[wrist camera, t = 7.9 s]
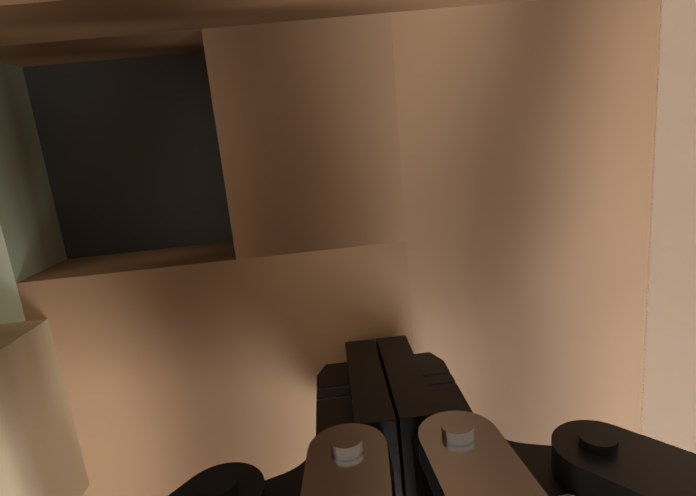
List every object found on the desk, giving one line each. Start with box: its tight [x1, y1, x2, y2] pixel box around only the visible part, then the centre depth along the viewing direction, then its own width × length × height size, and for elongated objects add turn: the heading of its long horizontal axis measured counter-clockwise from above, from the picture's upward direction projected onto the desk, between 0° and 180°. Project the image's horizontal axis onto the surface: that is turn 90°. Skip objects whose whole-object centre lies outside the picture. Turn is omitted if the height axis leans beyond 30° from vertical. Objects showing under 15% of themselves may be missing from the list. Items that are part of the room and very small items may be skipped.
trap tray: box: [0, 0, 662, 496], centre depth 12 cm, size 20×18×5 cm
